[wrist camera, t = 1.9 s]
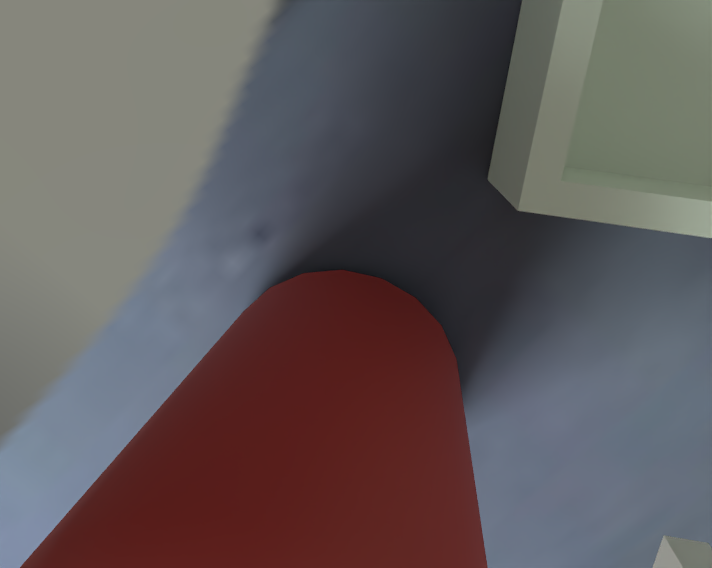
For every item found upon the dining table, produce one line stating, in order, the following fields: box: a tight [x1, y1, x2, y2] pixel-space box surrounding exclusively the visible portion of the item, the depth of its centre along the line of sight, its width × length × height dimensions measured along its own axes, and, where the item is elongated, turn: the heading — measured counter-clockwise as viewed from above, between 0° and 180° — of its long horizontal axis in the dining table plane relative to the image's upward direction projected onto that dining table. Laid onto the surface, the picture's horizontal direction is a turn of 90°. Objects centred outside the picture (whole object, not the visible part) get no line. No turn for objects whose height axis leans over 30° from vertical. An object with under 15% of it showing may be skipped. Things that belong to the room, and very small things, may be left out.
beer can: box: [20, 270, 487, 568], centre depth 10 cm, size 7×7×12 cm
